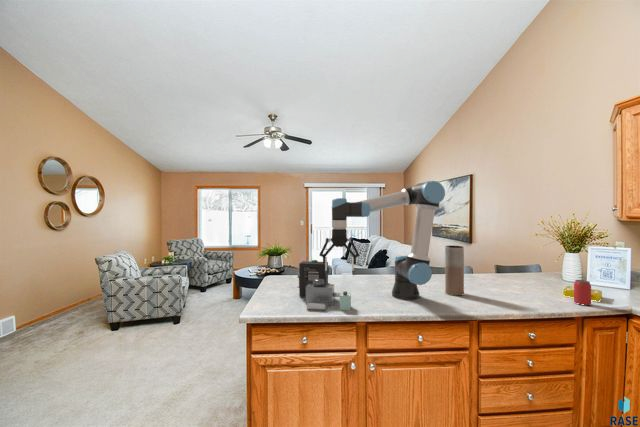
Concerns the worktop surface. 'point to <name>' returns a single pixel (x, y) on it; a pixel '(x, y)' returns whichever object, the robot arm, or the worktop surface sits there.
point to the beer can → (582, 292)
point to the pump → (345, 301)
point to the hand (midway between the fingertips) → (339, 270)
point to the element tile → (594, 293)
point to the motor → (320, 295)
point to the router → (311, 274)
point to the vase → (454, 270)
